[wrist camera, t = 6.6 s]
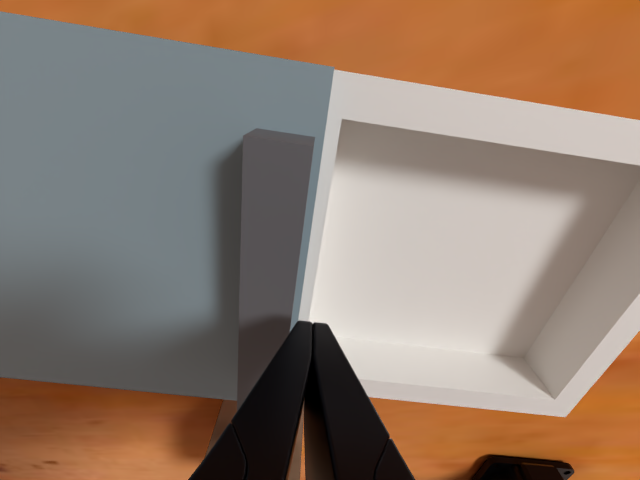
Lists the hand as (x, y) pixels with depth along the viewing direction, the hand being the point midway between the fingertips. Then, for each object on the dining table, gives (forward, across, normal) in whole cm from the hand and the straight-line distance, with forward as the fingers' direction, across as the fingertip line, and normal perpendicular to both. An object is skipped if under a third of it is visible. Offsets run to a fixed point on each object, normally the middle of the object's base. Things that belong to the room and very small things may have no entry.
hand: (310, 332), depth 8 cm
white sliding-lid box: (+6, +1, 0) cm, 6 cm away
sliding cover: (+3, +8, 0) cm, 8 cm away
